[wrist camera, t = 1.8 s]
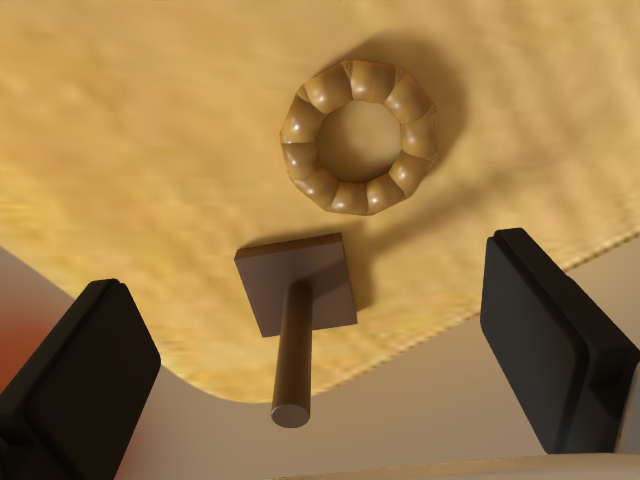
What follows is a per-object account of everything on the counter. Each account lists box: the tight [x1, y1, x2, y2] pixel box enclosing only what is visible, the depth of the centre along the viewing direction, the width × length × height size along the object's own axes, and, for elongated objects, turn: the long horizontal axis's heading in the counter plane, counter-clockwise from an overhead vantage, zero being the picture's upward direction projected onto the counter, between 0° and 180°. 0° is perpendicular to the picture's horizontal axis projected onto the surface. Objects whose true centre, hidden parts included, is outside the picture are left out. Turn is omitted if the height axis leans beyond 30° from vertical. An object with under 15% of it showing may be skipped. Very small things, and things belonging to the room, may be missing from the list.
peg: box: [234, 233, 358, 428], centre depth 30 cm, size 9×9×14 cm
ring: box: [280, 60, 438, 216], centre depth 28 cm, size 11×11×2 cm
